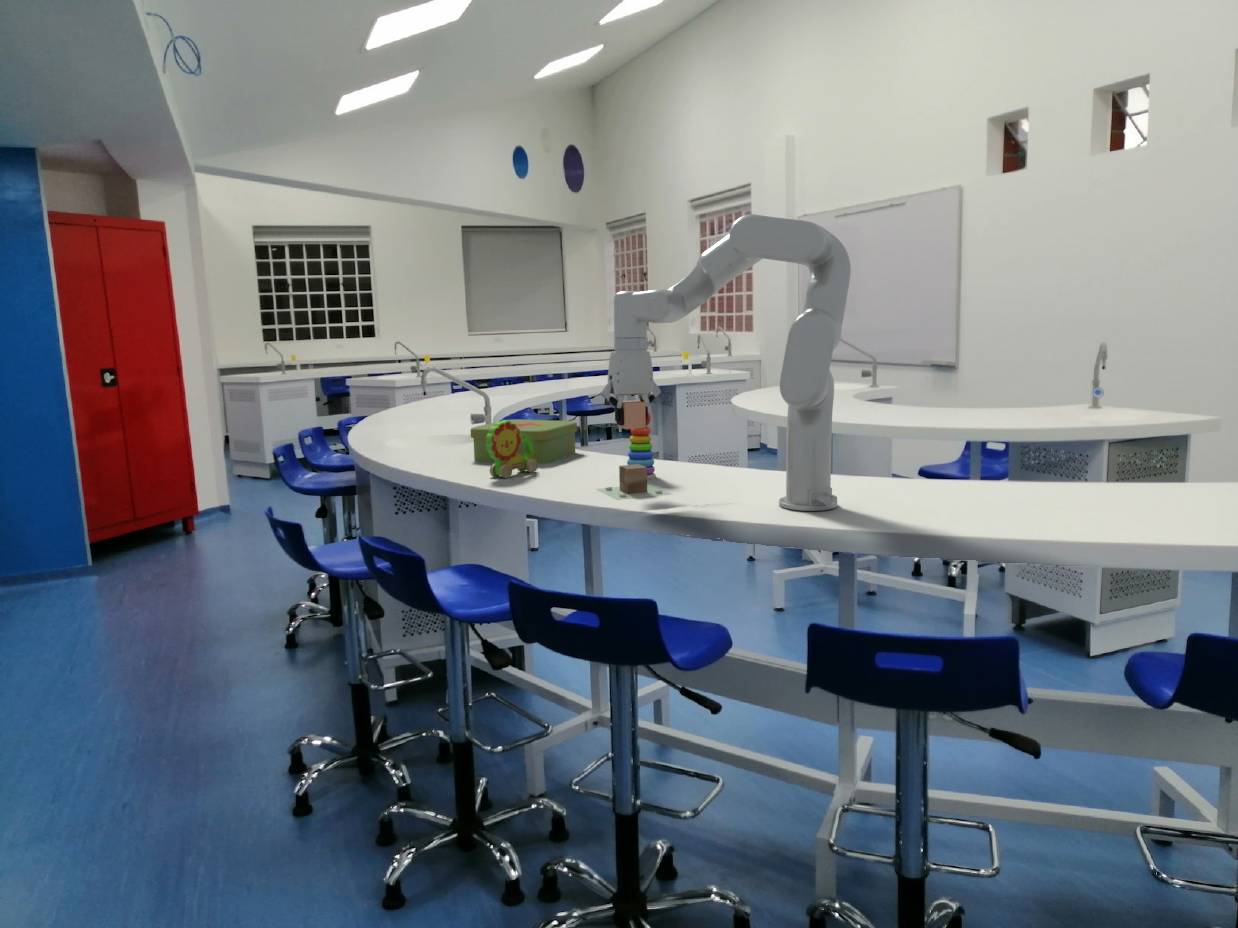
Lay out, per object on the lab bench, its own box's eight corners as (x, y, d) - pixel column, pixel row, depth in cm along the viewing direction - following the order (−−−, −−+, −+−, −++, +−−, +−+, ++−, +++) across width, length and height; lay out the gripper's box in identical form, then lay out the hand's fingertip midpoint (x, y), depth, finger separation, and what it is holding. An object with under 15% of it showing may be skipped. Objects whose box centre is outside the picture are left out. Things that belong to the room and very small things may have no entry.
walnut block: (647, 492, 208) (646, 467, 207) (627, 494, 206) (627, 468, 205) (639, 488, 212) (638, 464, 211) (619, 490, 210) (619, 465, 209)
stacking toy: (653, 483, 223) (652, 410, 220) (622, 483, 225) (620, 410, 222) (658, 478, 231) (657, 407, 228) (628, 477, 233) (626, 407, 230)
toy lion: (524, 470, 248) (522, 416, 245) (538, 472, 244) (537, 417, 242) (482, 478, 236) (480, 422, 233) (496, 480, 232) (494, 423, 230)
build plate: (672, 498, 205) (672, 491, 205) (616, 503, 200) (616, 496, 200) (648, 487, 218) (648, 481, 218) (595, 493, 213) (595, 486, 213)
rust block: (645, 427, 205) (645, 402, 204) (625, 429, 203) (625, 403, 202) (637, 425, 210) (637, 400, 209) (617, 426, 208) (617, 401, 207)
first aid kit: (466, 461, 267) (465, 428, 265) (510, 449, 290) (509, 418, 289) (543, 465, 256) (542, 431, 255) (582, 452, 280) (581, 421, 278)
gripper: (657, 344, 210) (658, 420, 213) (590, 346, 204) (591, 424, 207) (671, 345, 203) (671, 423, 206) (601, 347, 197) (603, 428, 200)
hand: (631, 423), depth 206 cm, fingers closed on rust block, 5 cm apart
